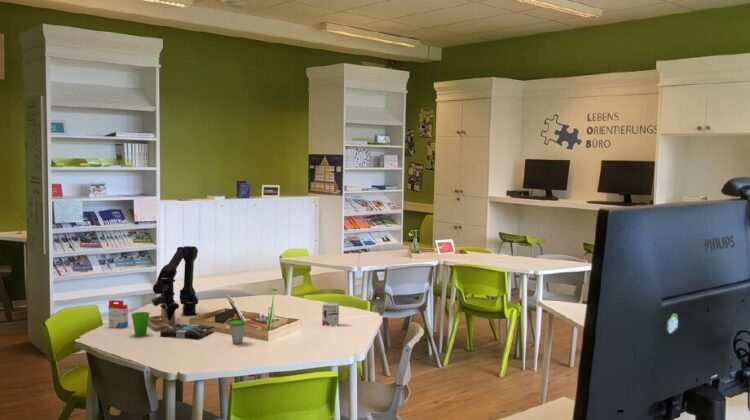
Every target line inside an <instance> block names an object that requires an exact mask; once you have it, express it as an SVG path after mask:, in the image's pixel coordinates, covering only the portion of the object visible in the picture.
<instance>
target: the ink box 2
mask: <svg viewBox="0 0 750 420" xmlns="http://www.w3.org/2000/svg"><path fill="white" fill-rule="evenodd" d="M339 311H340V304H339V302H323V304H322V317H321V318H322V321H321V323H322V324H321V325H338V326H339V324H338V323H339V321H340V319H339V317H340V316H339V315H340V312H339Z"/></svg>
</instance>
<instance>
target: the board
mask: <svg viewBox="0 0 750 420" xmlns="http://www.w3.org/2000/svg"><path fill="white" fill-rule="evenodd" d="M169 326H170V327H172V325H170V324H167V323H166V322H164V321H162V320H161V318H159V319H151V321H150V320H149V319H148V325H147V328H150V329H151V330H152V331H154V332H160V331H161V330H166V329H168V328H169Z"/></svg>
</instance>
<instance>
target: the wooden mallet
mask: <svg viewBox="0 0 750 420" xmlns="http://www.w3.org/2000/svg"><path fill="white" fill-rule="evenodd" d="M160 310H161V311H160V315H154V316H153V315H152V316H149V320H150V321H151V319H161V320H162V321H164V322H166V323H167V324H169V325H170V324H171V325H172V324H176V311H175V312H174V314H173V316H172V319H171V320H168V314H167V311H166V310H165V309H164V308H162V307H160Z"/></svg>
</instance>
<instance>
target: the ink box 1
mask: <svg viewBox="0 0 750 420" xmlns="http://www.w3.org/2000/svg"><path fill="white" fill-rule="evenodd" d="M128 312H129V310H128V304H124V300H115V299H113V300H111V299H110V300H108V328H109V327H116V328H115V329H124V328H127V327H128V326H129V323H128V322H129V321H128V318H129V317H128V316H129V315H128V314H129V313H128Z"/></svg>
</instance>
